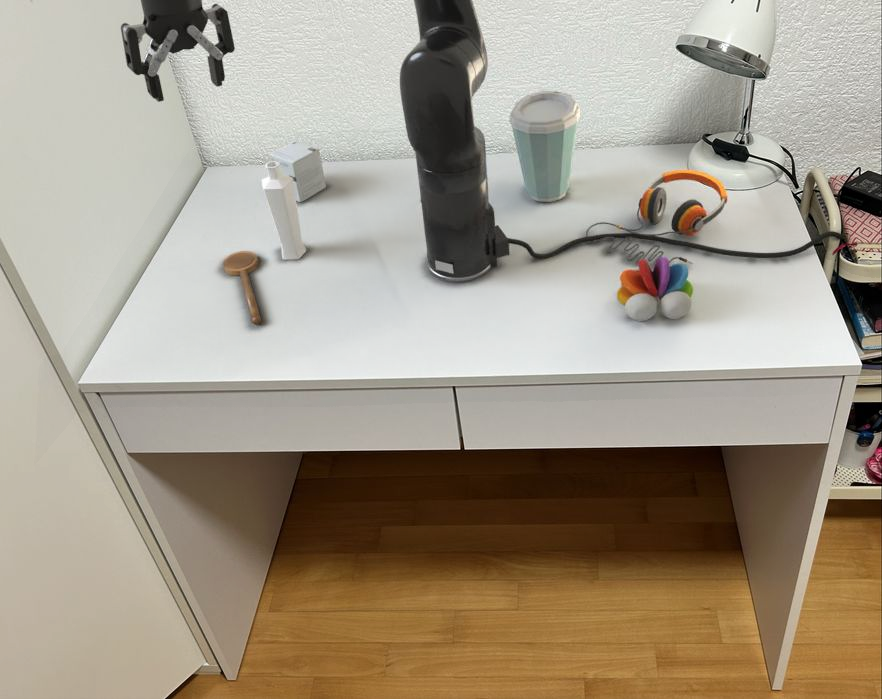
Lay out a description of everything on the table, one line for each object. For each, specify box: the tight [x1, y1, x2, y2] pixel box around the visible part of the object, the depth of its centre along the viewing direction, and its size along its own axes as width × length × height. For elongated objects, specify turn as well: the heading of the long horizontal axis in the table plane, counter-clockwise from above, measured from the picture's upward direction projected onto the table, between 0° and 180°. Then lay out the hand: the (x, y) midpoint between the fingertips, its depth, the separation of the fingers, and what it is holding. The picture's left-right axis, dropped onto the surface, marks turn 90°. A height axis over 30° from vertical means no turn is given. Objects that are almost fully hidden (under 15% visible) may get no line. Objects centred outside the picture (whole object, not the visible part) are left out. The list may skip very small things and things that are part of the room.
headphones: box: [585, 169, 728, 267], centre depth 126 cm, size 17×5×20 cm
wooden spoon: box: [222, 250, 262, 325], centre depth 125 cm, size 18×5×1 cm, turn 18°
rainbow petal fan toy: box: [616, 256, 694, 322], centre depth 112 cm, size 8×10×7 cm
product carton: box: [268, 139, 327, 203], centre depth 143 cm, size 6×6×7 cm
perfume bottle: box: [261, 161, 307, 261], centre depth 127 cm, size 5×4×15 cm
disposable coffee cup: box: [508, 90, 582, 203], centre depth 134 cm, size 11×11×15 cm
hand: (188, 91), depth 120 cm, fingers open, 8 cm apart
